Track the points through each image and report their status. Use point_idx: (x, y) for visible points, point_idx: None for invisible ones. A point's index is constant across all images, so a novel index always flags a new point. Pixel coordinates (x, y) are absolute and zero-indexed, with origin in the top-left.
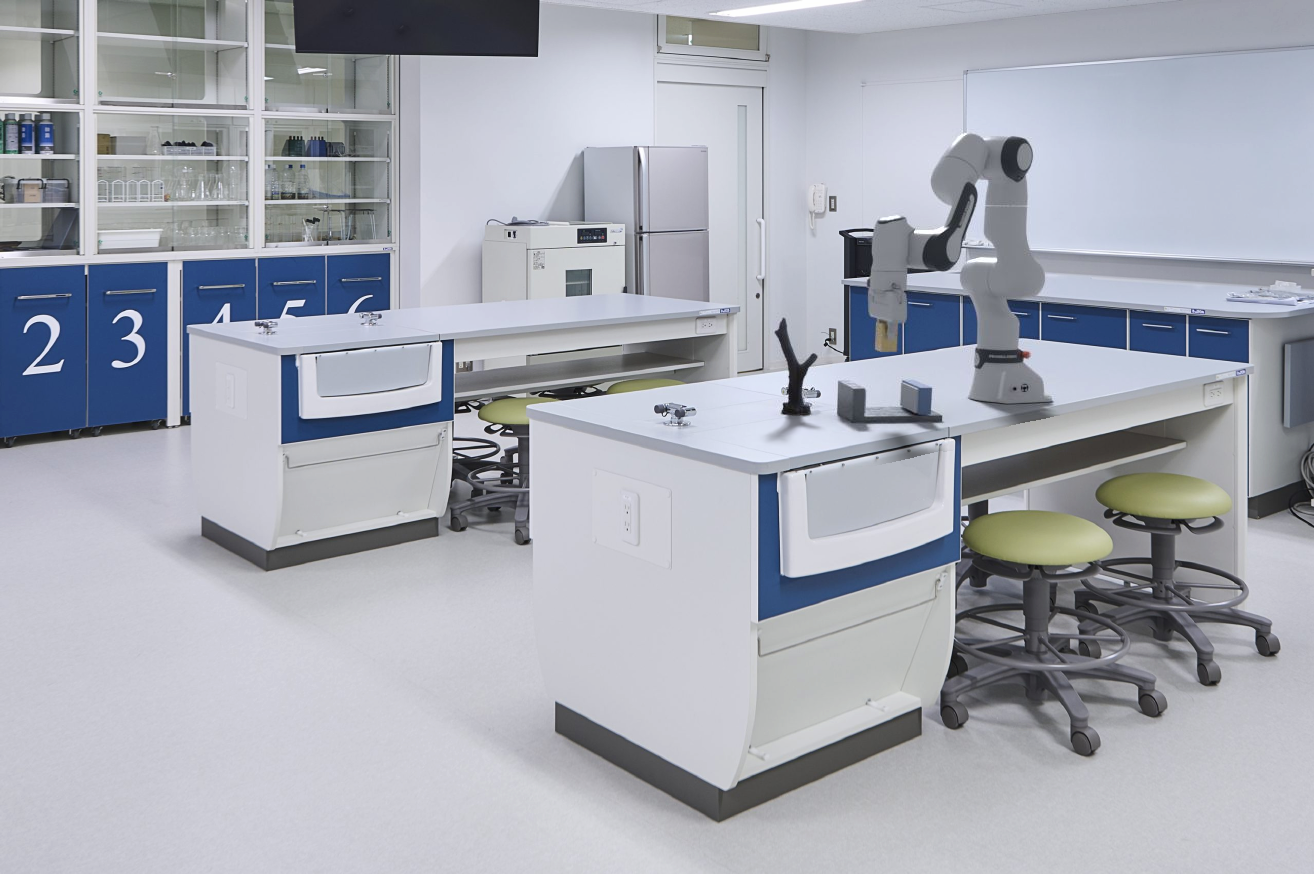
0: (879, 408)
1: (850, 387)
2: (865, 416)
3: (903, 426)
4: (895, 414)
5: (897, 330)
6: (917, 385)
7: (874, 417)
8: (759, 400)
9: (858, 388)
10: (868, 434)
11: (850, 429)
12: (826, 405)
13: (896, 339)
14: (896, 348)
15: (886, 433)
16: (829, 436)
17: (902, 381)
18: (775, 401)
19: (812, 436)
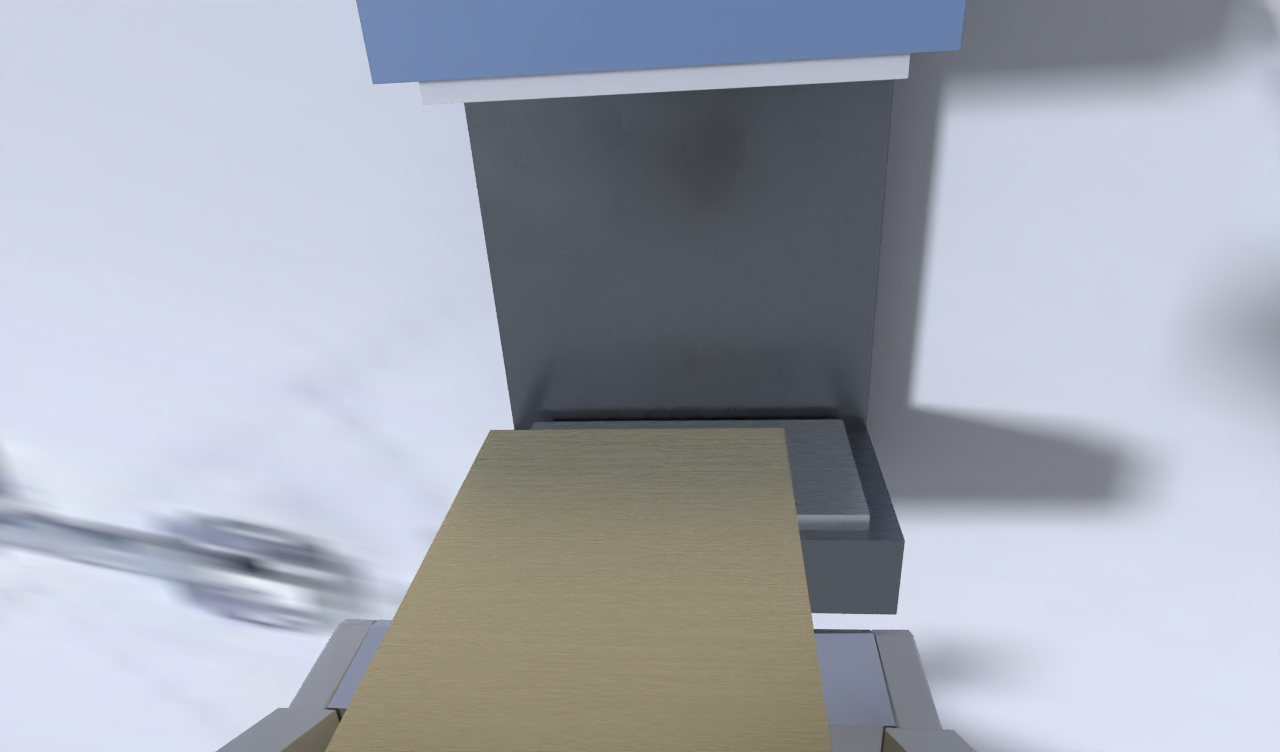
0: (550, 249)
1: (816, 610)
2: (866, 418)
3: (1047, 203)
4: (815, 206)
5: (818, 684)
6: (787, 32)
7: (869, 362)
8: (170, 702)
9: (898, 583)
10: (1247, 478)
11: (1061, 525)
12: (254, 458)
13: (798, 556)
14: (787, 458)
15: (1256, 377)
16: (1225, 656)
17: (384, 81)
18: (181, 651)
19: (1195, 716)
